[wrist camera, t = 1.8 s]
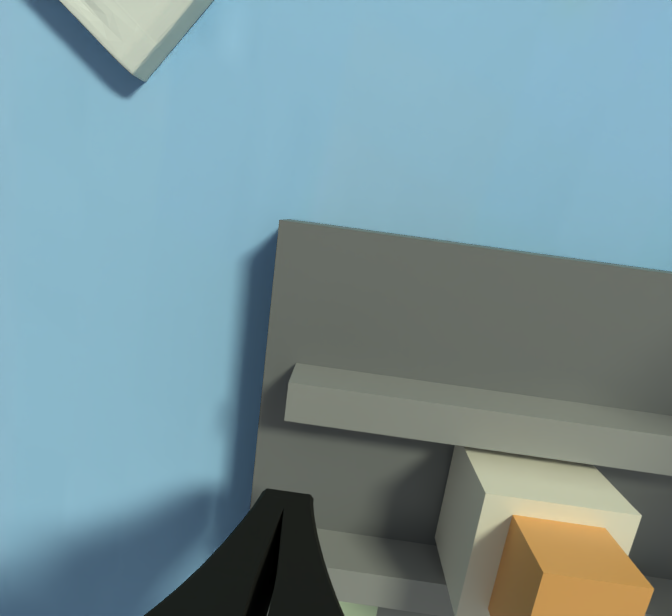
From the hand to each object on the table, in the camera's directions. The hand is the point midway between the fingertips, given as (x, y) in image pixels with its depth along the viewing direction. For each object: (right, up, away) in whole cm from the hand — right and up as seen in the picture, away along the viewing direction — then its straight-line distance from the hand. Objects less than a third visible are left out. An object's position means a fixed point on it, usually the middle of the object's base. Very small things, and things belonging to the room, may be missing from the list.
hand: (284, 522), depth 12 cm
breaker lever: (+7, 0, +2) cm, 8 cm away
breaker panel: (+7, 0, +5) cm, 9 cm away
